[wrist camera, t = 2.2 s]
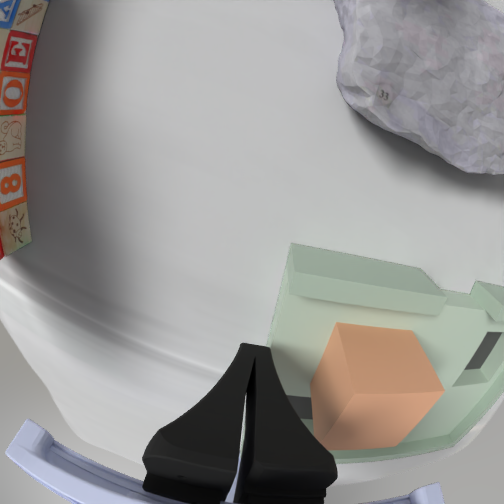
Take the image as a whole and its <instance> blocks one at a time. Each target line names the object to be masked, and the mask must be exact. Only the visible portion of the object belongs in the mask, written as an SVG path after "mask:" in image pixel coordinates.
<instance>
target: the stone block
mask: <svg viewBox="0 0 504 504" xmlns="http://www.w3.org/2000/svg"><path fill="white" fill-rule="evenodd" d="M333 1H334V3H335V8H336V10H337V13H338V16H339V22H340V25H341V28H342V29H343V31H344V42H343V46H342V51H341V53H340V56H339V60H338V72H337V80H336V81H337V85H338V87H339V89H340V91H341V93H342V95H343V98H344V99H345V101H346V102H347V103H348V104H349V105H350V106H351V107H352V108H353V109H354V110H355V111H357V112H359V113H360V114H361V115H363V116H364V117H365V118H366V119H367V120H369V121H370V122H372V123H373V124H375V125H377V126H379V127H381V128H383V129H384V130H387V131H389V132H392V133H394V134H397V135H399V136H402V137H404V138H406V139H408V140H410V141H412V142H414V143H417V144H419V145H420V146H421V147H423V148H424V149H425V150H426V151H428V152H430V153H432V154H435V155H438V156H440V157H441V158H442V159H444V160H445V161H446V162H447V163H449V164H452V165H454V166H455V167H457V168H459V169H460V170H462V171H464V172H467V173H488V174H491V175H496V174H503V175H504V13H502V12H501V11H499V10H498V9H497V8H495V7H493V6H491V5H490V4H488V3H487V2H485V1H484V0H333Z"/></svg>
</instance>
